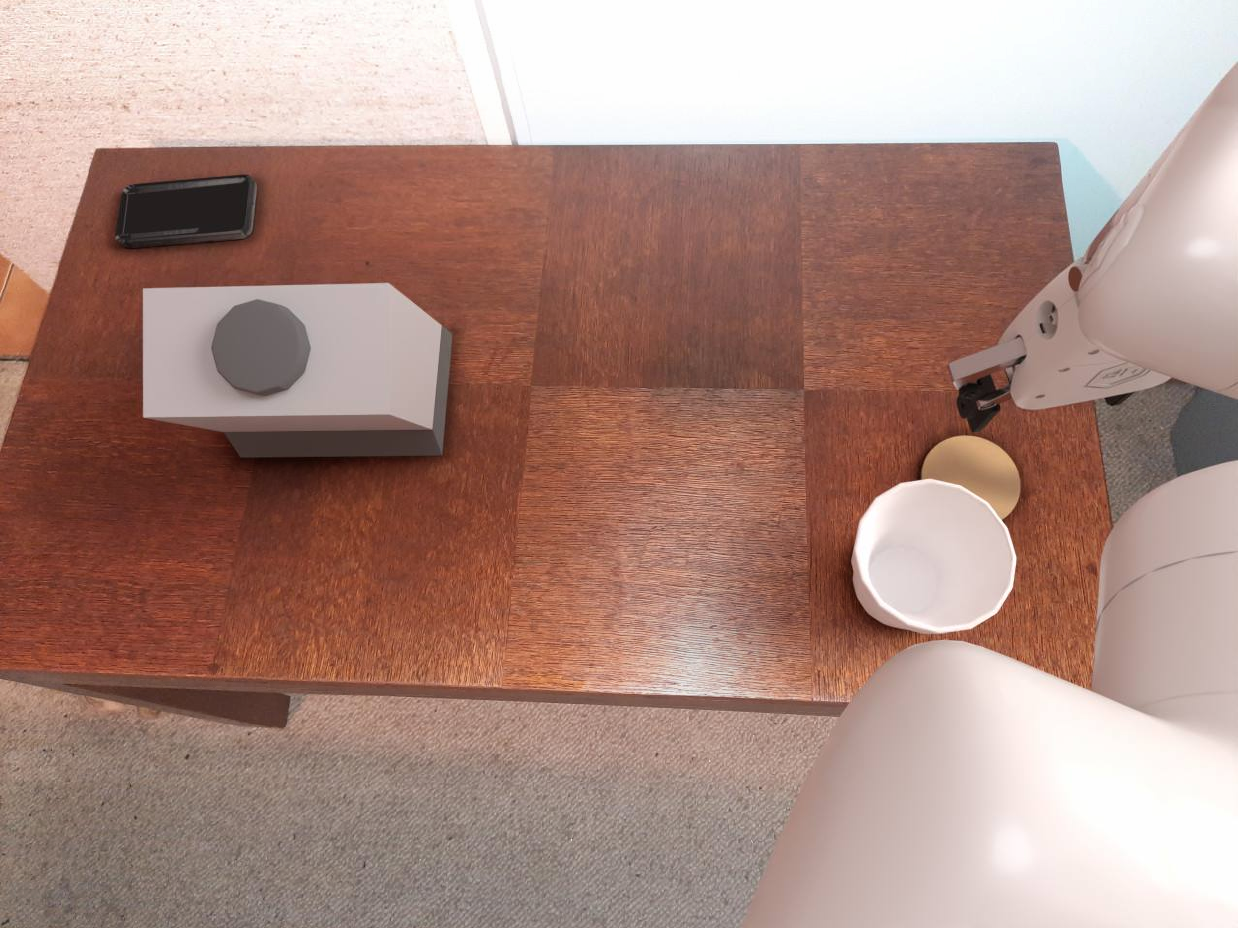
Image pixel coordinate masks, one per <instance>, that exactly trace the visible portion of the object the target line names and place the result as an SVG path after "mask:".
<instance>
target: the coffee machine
mask: <svg viewBox="0 0 1238 928" xmlns="http://www.w3.org/2000/svg"><path fill="white" fill-rule="evenodd" d="M453 337H454V336H453V333H452V332H450V330H448V329H447V328H446V327H445V326H444V325H442V324H441V323H440V322H438V321H437V320H436V319H434V318H433V316H430V315H429V314H428V313H427V312H426V311H424V309H422V308H421V307H419V306H418V305H417V304H416V303H414V302H413V301H412V300H411V299H410V298H408V297H407V296H406V295H405V294H403V293H402V292H401V291H400V290H398V289H397V288H396V287H394V286H393V285H392V284H391V283H389V282H374V283H369V282H368V283H366V282H365V283H327V284H326V283H322V284H321V283H320V284H319V283H318V284H282V285H281V284H279V285H277V284H276V285H235V286H234V285H233V286H232V285H231V286H189V287H188V286H187V287H185V286H183V287H151V288H150V287H145V288H144V287H143V288H142V418H144V419H149V420H155V421H159V422H166V423H170V424H171V423H172V424H177V425H182V426H189V427H194V428H197V429H204V430H209V431H215V432H220V433H223V434H224V435H225V436H226V438H227V440H229V443H230V444H231V446H232V447H233V448H234V450H235V451H236V453H237V455H238V456H239V457H240V458H323V457H324V458H326V457H327V458H329V457H330V458H334V457H336V458H337V457H338V458H339V457H340V458H341V457H428V456H430V457H433V456H434V457H436V456H443V448H444V440H445V438H444V437H445V428H446V427H445V426H446V415H447V404H448V403H447V402H448V392H449V383H450V381H449V380H450V369H451V360H452V359H451V358H452V348H453V347H452V346H453V345H452V344H453Z"/></svg>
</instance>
